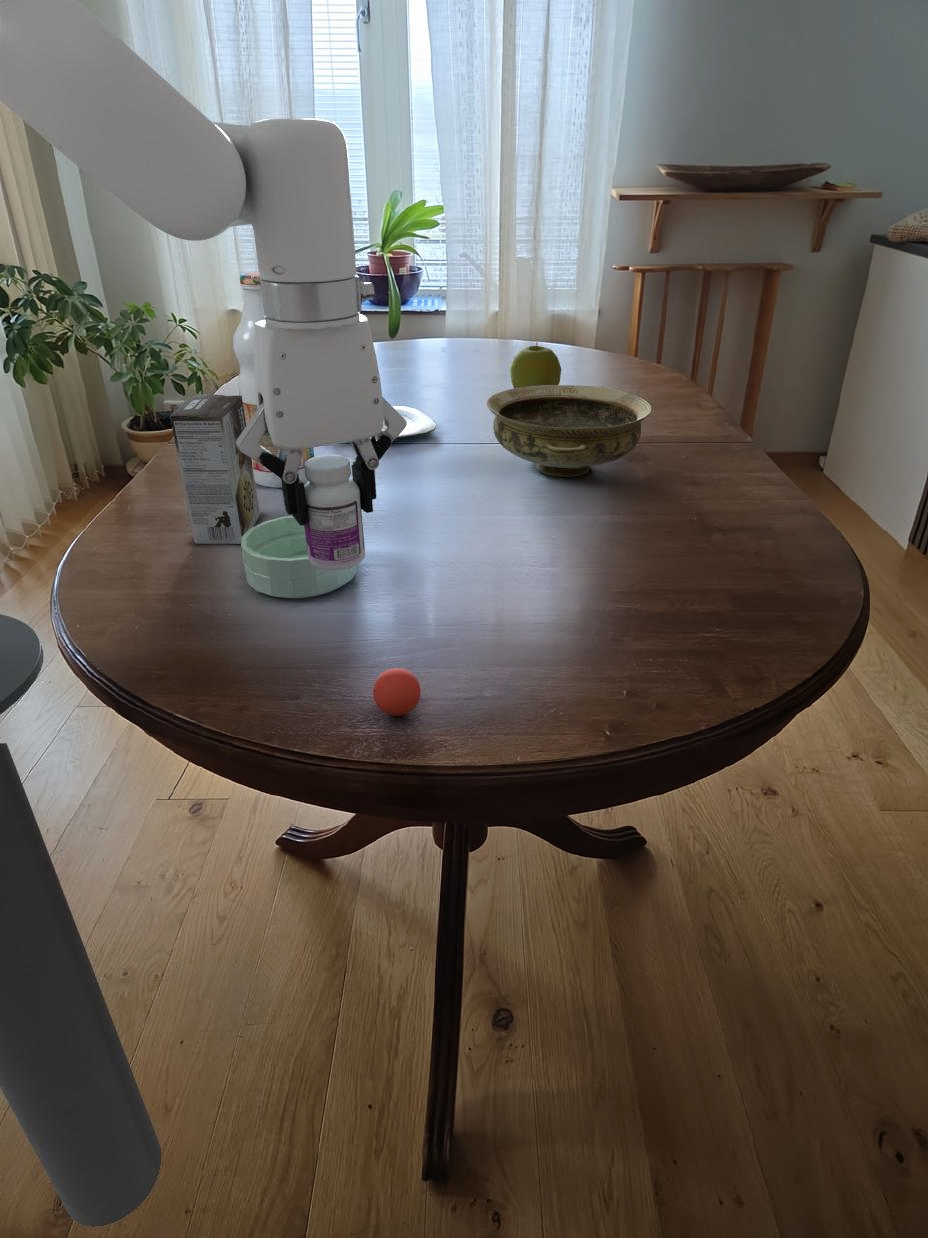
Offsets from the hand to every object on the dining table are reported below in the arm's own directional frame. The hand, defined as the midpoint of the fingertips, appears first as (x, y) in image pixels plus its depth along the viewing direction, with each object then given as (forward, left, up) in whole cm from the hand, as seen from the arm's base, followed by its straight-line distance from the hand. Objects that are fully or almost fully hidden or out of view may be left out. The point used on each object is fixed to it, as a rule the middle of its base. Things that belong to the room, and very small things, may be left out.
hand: (332, 511), depth 72 cm
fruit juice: (+30, +36, -13) cm, 49 cm away
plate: (+56, +38, -13) cm, 69 cm away
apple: (+88, +24, -13) cm, 93 cm away
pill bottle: (0, 0, -5) cm, 5 cm away
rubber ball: (-8, -12, -11) cm, 18 cm away
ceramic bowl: (+55, +2, -13) cm, 57 cm away
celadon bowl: (+7, +12, -13) cm, 19 cm away
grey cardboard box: (+12, +29, -13) cm, 34 cm away
